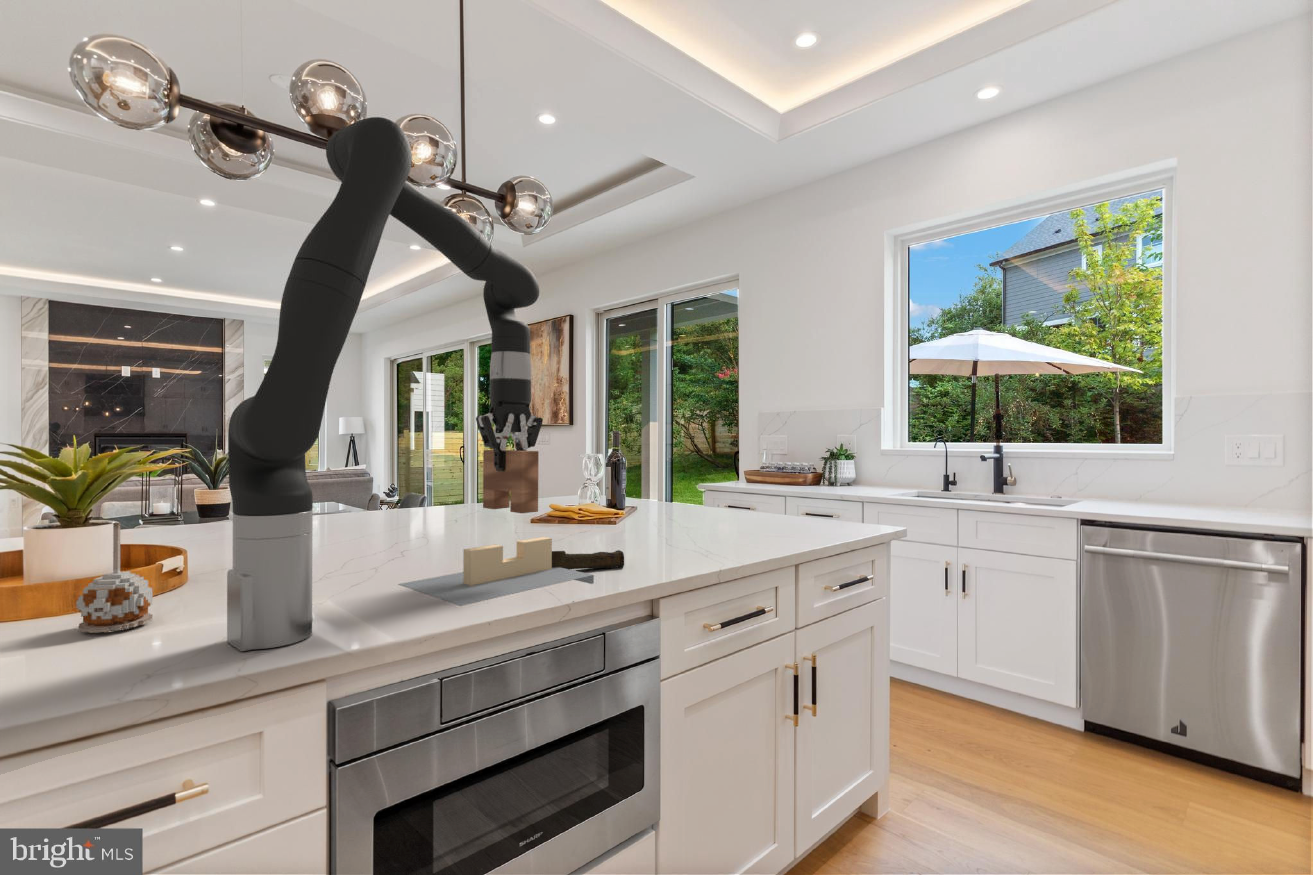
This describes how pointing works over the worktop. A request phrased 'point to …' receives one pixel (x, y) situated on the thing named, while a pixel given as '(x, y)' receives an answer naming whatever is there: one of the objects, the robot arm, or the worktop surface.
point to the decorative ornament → (115, 598)
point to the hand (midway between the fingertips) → (510, 470)
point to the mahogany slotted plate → (511, 482)
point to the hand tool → (588, 560)
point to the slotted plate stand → (499, 573)
